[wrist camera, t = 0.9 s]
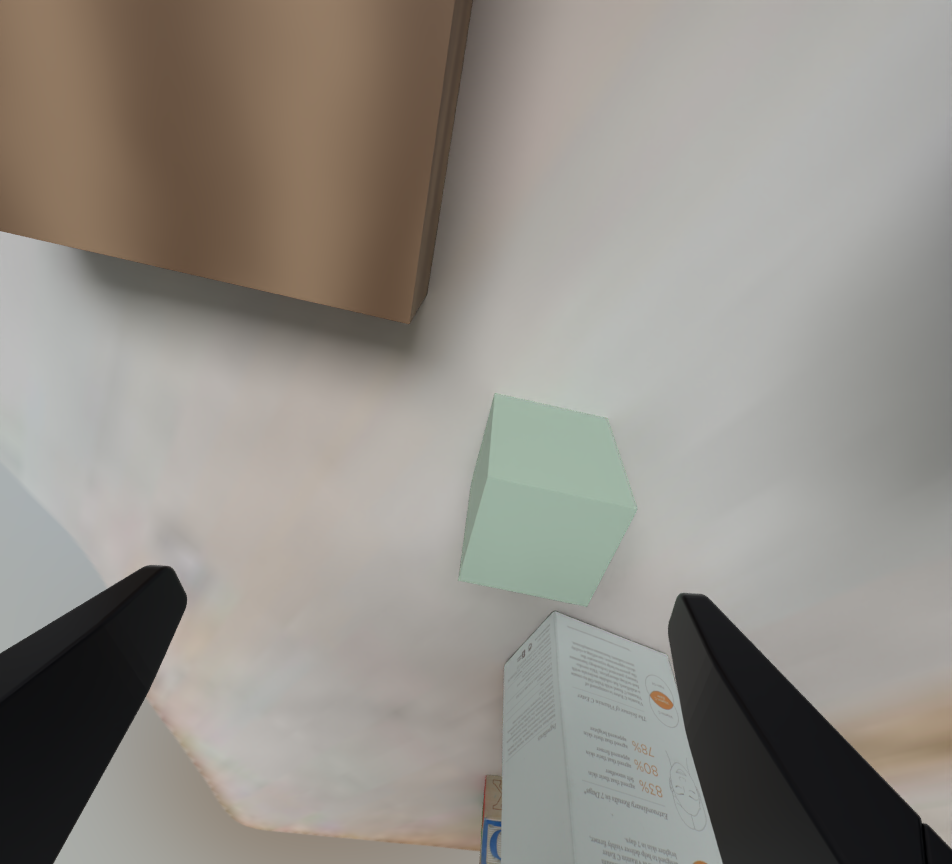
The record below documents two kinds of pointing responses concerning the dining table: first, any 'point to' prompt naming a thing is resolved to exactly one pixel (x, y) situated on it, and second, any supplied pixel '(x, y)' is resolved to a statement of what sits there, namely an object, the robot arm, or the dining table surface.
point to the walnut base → (237, 138)
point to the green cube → (545, 502)
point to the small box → (597, 755)
